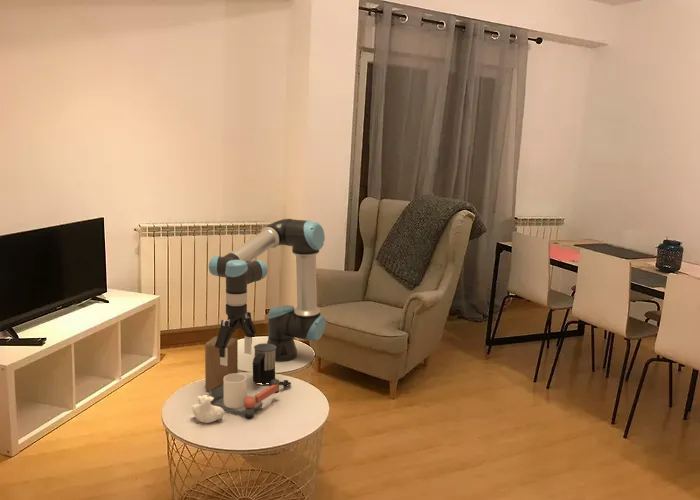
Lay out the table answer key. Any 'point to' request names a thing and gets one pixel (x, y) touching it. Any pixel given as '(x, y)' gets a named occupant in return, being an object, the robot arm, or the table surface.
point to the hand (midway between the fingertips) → (236, 359)
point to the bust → (207, 410)
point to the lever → (261, 395)
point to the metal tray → (219, 401)
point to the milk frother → (265, 364)
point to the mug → (234, 390)
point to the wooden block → (212, 363)
